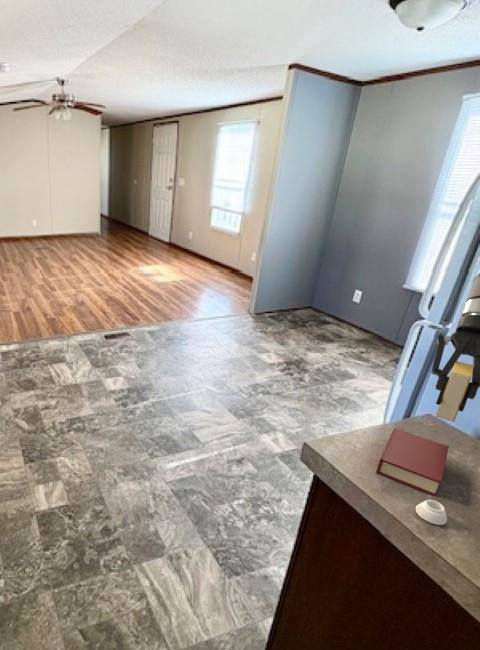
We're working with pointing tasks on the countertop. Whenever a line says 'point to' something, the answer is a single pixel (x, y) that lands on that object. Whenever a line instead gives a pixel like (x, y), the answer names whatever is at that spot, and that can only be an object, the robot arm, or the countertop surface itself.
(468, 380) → the small book
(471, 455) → the countertop surface
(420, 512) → the upside-down white bowl
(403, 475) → the big book
